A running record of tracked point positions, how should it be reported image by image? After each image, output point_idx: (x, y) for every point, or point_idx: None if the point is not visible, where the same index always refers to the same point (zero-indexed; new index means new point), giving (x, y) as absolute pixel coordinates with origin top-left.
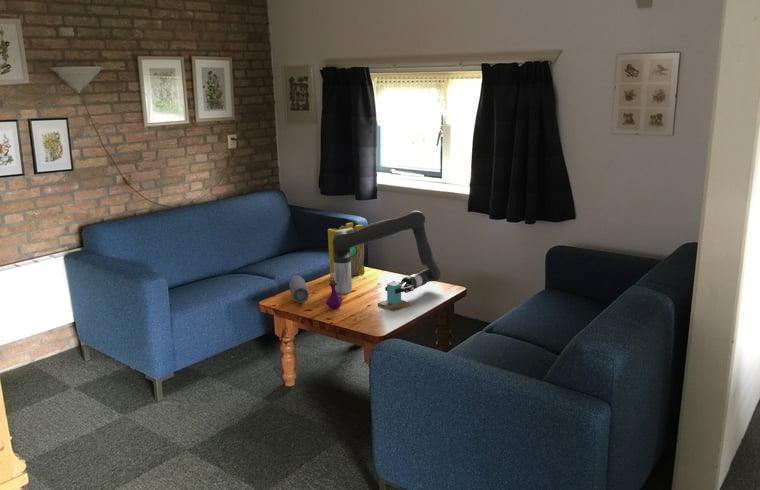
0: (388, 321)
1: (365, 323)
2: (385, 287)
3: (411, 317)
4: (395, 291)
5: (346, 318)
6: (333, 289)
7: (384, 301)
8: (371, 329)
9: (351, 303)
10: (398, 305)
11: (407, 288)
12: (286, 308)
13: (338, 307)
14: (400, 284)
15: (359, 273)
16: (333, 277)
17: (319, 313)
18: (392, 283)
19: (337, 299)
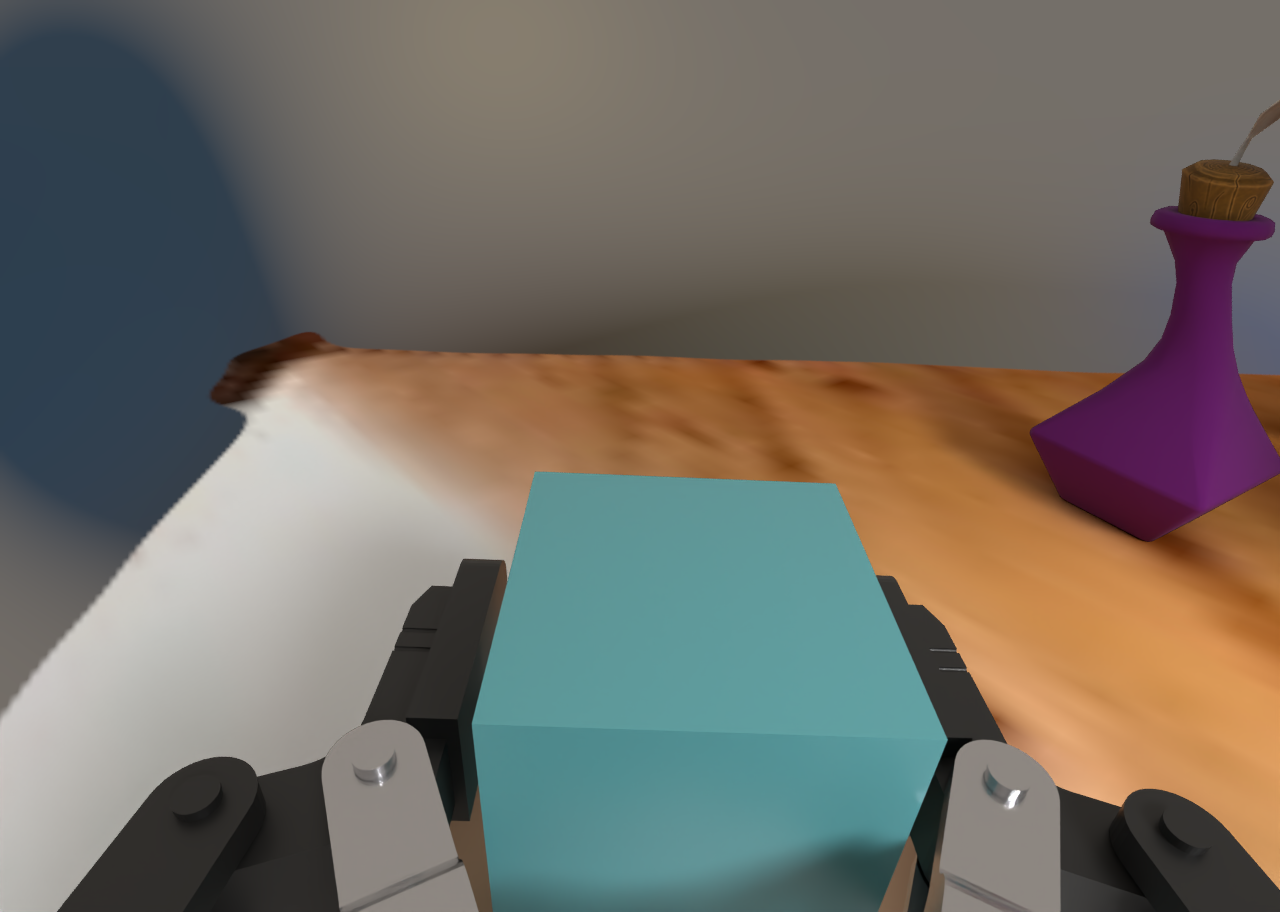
0: (369, 499)
1: (548, 418)
2: (881, 578)
3: (76, 686)
4: (503, 589)
5: (762, 421)
6: (1175, 290)
7: (892, 887)
8: (431, 384)
9: (1206, 653)
10: (466, 865)
11: (118, 862)
12: (1250, 385)
13: (1087, 509)
14: (478, 709)
15: None
16: (1253, 127)
17: (1010, 407)
18: (797, 597)
19: (1087, 400)
